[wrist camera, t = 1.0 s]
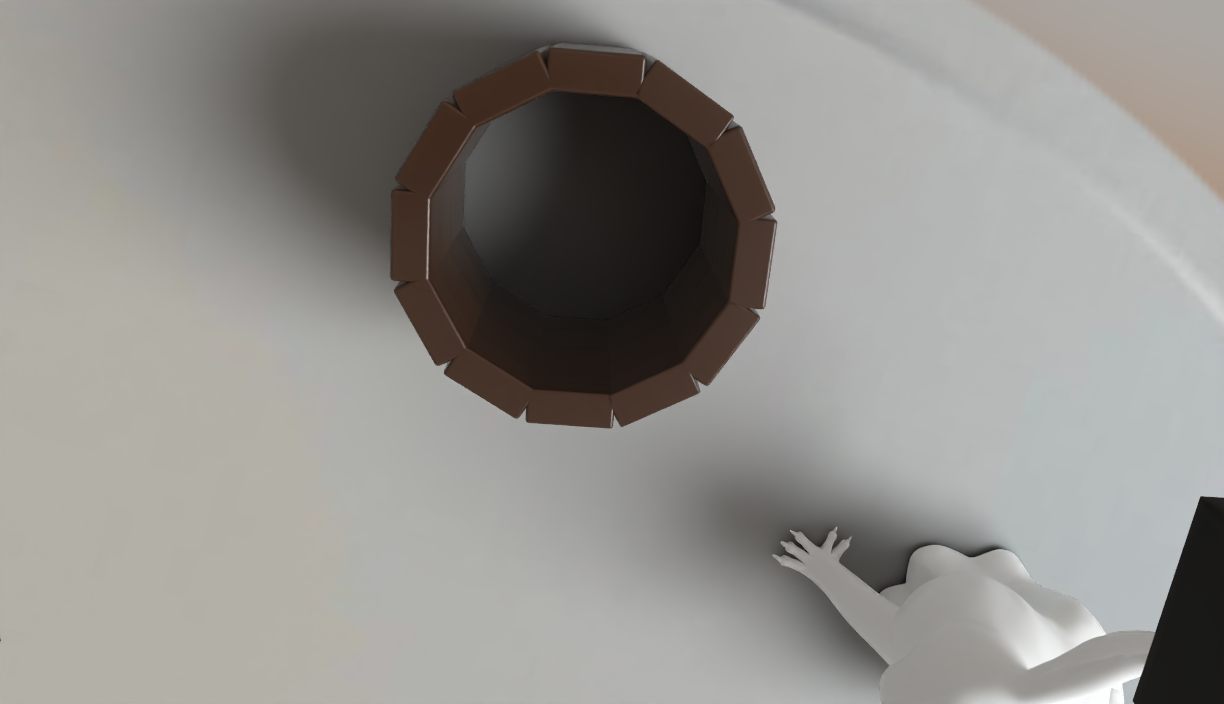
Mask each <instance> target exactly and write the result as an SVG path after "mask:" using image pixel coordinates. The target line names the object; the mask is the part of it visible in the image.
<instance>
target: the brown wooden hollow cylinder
mask: <svg viewBox="0 0 1224 704" xmlns="http://www.w3.org/2000/svg"><path fill="white" fill-rule="evenodd" d="M551 91H556V92H568V93H579V94H591V95H602V96H614V97H625V98H637V99H638V100H639V101H641V102H642V103H644V104H645V105H646V106H648V107H649V108H651V109H652V110H653V111H655V112H656V113H657V114H659V115H660V116H662V117H663V118H664V119H666V120H667V121H669V122H670V123H671V124H673V125H674V126H675V127H677V128H678V129H680V130H681V131H682V132H684V133H685V134H687V137H688V139H689V141H690V144H691V146H692V148H693V150H694V153H695V155H696V157H697V160H698V162H699V164H700V167H701V169H702V171H703V174H704V176H705V178H706V180H707V187H706V195H705V204H704V212H703V221H702V229H701V238H700V245H699V247H698V248H697V249H696V251H695V252H694V253H693V255H692V256H691V257H690V259H689V260H688V261H687V263H686V264H685V266H684V267H683V268H682V270H681V271H680V272H679V274H678V275H677V276H676V278H675V279H674V280H673V282H672V283H671V285H670V286H669V287H668V289H667V290H666V291H665V293H664V294H663V295H661V296H659V297H657V298H655V299H653V300H650V301H648V302H646V303H644V304H642V305H639V306H637V307H635V308H633V309H631V310H628V311H626V312H624V313H622V314H620V315H617V316H615V317H613V318H611V319H609V320H606V321H605V320H592V319H579V318H565V317H552V316H544V315H543V314H541V313H540V312H538V311H537V310H535V309H533V308H532V307H530V306H529V305H527V304H526V303H524V302H523V301H521V300H520V299H518V298H517V297H515V296H513V295H512V294H510V293H509V292H507V291H506V290H504V289H503V288H501V287H500V286H498V285H497V284H495V283H493V282H492V280H491V278H490V276H489V274H488V272H487V270H486V268H485V266H484V265H483V263H482V261H481V259H480V257H479V255H478V253H477V251H476V249H475V248H474V246H473V244H472V242H471V240H470V238H469V236H468V234H467V232H466V231H465V229H464V227H463V218H464V189H465V162H466V160H467V159H468V157H469V156H470V154H471V152H472V151H473V149H474V148H475V146H476V145H477V143H478V141H479V140H480V138H481V137H482V135H483V134H484V132H485V131H486V129H487V127H488V126H489V124H490V123H491V121H492V120H494V119H496V118H498V117H500V116H502V115H504V114H506V113H508V112H510V111H512V110H514V109H516V108H518V107H520V106H523V105H525V104H527V103H529V102H531V101H533V100H535V99H537V98H539V97H541V96H543V95H545V94H547V93H549V92H551ZM733 119H734V116H733V115H732V114H731V113H729V112H728V111H727V110H725V109H724V108H723V107H721V106H720V105H719V104H717V103H716V102H714V101H713V100H712V99H710V98H709V97H708V96H706V95H705V94H704V93H702V92H701V91H700V90H698V89H697V88H695V87H694V86H693V85H691V84H690V83H689V82H687V81H686V80H685V79H683V78H682V77H681V76H679V75H678V74H676V73H675V72H674V71H672V70H671V69H670V68H668V67H667V66H666V65H664V64H663V63H662V62H660V61H659V60H657V59H655V58H653V57H651V56H649V55H647V54H645V53H643V52H642V53H639V52H637V51H635V50H634V49H631V48H620V47H609V46H598V45H586V44H575V43H564V42H560V43H558V44H556V45H554V46H551V45H546V46H543V47H541V48H538V49H536V50H534V51H532V52H530V53H528V54H526V55H524V56H522V57H520V58H518V59H516V60H514V61H512V62H510V63H508V64H506V65H504V66H502V67H500V68H498V69H496V70H494V71H492V72H490V73H488V74H486V75H484V76H482V77H480V78H478V79H476V80H474V81H472V82H470V83H468V84H466V85H464V86H462V87H460V88H458V89H456V90H454V91H453V92H452V96H451V97H449V98H447V99H445V100H443V101H442V102H441V103H440V105H439V106H438V108H437V110H436V111H435V113H434V115H433V116H432V118H431V119H430V121H429V123H428V124H427V126H426V127H425V129H424V131H423V132H422V134H421V136H420V137H419V139H418V140H417V142H416V144H415V145H414V147H413V148H412V150H411V152H410V153H409V155H408V157H407V158H406V160H405V161H404V163H403V165H402V166H401V168H400V169H399V171H398V173H397V174H396V176H395V181H396V182H397V183H399V184H398V185H397V186H396V187H395V188H393V189H392V191H391V225H390V277H391V280H393V281H400V282H399V283H398V285H397V286H396V287H395V289H394V293H395V295H396V296H397V298H398V300H399V302H400V303H401V305H402V307H403V309H404V311H405V312H406V314H407V316H408V318H409V319H410V321H411V323H412V325H413V326H414V328H415V330H416V332H417V333H418V335H419V337H420V339H421V340H422V342H423V344H424V346H425V347H426V349H427V351H428V353H429V355H430V356H431V358H432V360H433V362H434V363H435V364H436V365H437V366H439V365H442V364H444V363H447V362H448V363H447V365H446V368H445V370H444V374H445V375H446V376H448V377H449V378H451V379H452V380H454V381H456V382H457V383H459V384H461V385H462V386H464V387H465V388H467V389H469V390H470V391H472V392H473V393H475V394H477V395H478V396H480V397H482V398H483V399H485V400H486V401H488V402H490V403H491V404H493V405H494V406H496V407H498V408H499V409H501V410H503V411H504V412H506V413H507V414H509V415H511V416H512V417H514V418H516V419H517V418H519V417H520V416H521V414H522V413H523V412H524V410H525V409H526V422H528V423H540V424H554V425H569V426H583V427H597V428H612V426H613V420H614V415H615V417H616V419H617V421H618V423H619V425H620V426H621V427H623V426H626V425H628V424H630V423H632V422H635V421H637V420H639V419H641V418H644V417H646V416H648V415H651V414H653V413H655V412H657V411H660V410H662V409H664V408H667V407H669V406H671V405H673V404H676V403H678V402H680V401H683V400H685V399H687V398H689V397H692V396H694V395H696V394H698V393H700V389H699V385H698V382H697V380H698V381H699V382H701V383H702V384H704V385H706V386H708V385H709V384H710V383H711V382H712V380H713V379H714V378H715V377H716V375H717V374H718V373H719V371H720V370H721V369H722V367H723V366H724V365H725V364H726V362H727V361H728V360H729V358H730V357H731V356H732V355H733V353H734V352H735V351H736V349H737V348H738V347H739V346H740V344H741V343H742V342H743V340H744V339H745V338H746V337H747V335H748V334H749V333H750V331H751V330H752V329H753V328H754V326H755V325H756V324H757V322H758V321H759V320H760V316H759V315H758V313H757V311H756V309H764V307H765V305H766V298H767V291H768V284H769V277H770V270H771V263H772V256H773V249H774V242H775V235H776V228H777V221H776V220H775V219H774V217H773V216H772V215H771V213H773V212H774V211H775V206H774V203H773V201H772V199H771V196H770V194H769V191H768V189H767V187H766V184H765V182H764V179H763V177H762V174H761V172H760V170H759V167H758V165H757V162H756V160H755V158H754V155H753V153H752V150H751V148H750V145H749V143H748V141H747V138H746V136H745V133H744V131H743V129H742V127H741V126H740V125H738V124H737V123H735V122H734V121H732V120H733Z"/></svg>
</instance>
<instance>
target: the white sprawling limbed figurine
mask: <svg viewBox="0 0 1224 704" xmlns="http://www.w3.org/2000/svg"><path fill="white" fill-rule="evenodd" d="M836 530H837V527H836V528H835V529H834V530H833V531H830V532H829V534H828V537H827V539H826V541H825V542H824V544H823V545H822V546H821V547H817V546H816V545H814V544H813V543H812V542H811V541H810V540H808V539H807V538H806V537H805V536H804V534H803V533H802V532H794V531H792V530H790V532H791V533H792V534H793V535H794V536H795V539H796V541H797V542H799V543H800V544H801V545H802V546H803V547H804V549H805V550H806V551H807V552H808V553H807V552H805V551H804V550H803V549H801V548H799V547H797V546H796V545H795V544H794V543H793V542H788V543H786V542H783V541H781V544H782V545H783V546H784V547H785V549H786V551H787V552H789V553H791V554H793V555H794V556H796V557H797V558H798V559H799V560H801V561H802V562H801V561H799V560H797V559H793V558H790V557H788V556H786V555H782V556H781V557H780V556H777V555H775V554H772V556H773V557H774V558H775V559H776V560H778V561H779V563H780V565H782V566H786V567H790V568H792V569H794V570H797V571H799V572H801V573H802V574H804V575H805V576H807V577H808V578H809V579H811V580H812V581H813V582H814V583H815V584H816V585H817V586H818V587H819V588H820V589H821V590H822V591H823V592H824V593H825V594H826V595H827V596H828V598H829V599H830V600H831V601H832V603H833V604H834V605H835V607H836V608H837V610H838V611H839V612H840V613H841V615H842V616H843V617H844V618H845V620H846V621H847V622H848V623H849V624H850V625H851V626H852V627H853V628H854V629H855V631H856V632H857V633H858V634H859V635H860V636H861V637H862V638H863V639H864V640H865V641H866V642H867V643H868V644H869V645H870V646H871V647H872V648H873V649H874V650H875V651H876V652H877V653H878V654H879V655H880V656H881V657H882V658H883V659H884V660H885V661H886V662H887V663H888V664H889V665H890V666H888V668H887V669H886V670H885V671H884V673H883V675H882V676H881V679H880V684H879V690H880V697H881V702H882V704H1124V698H1123V696H1124V694H1123V688H1122V683H1125V682H1127V681H1129V680H1132V679H1134V678H1137V677H1140V676H1141V674H1142V671H1143V668H1144V665H1145V662H1146V659H1147V656H1148V653H1149V650H1150V647H1151V644H1152V641H1153V638H1154V635H1155V632H1151V631H1139V630H1138V631H1119V632H1114V633H1109V634H1106V633H1105V632H1104V630H1103V628H1102V627H1101V625H1100V624H1099V623H1098V621H1097V620H1096V619H1095V618H1094V616H1093V615H1092V614H1091V613H1090V612H1089V611H1088V610H1087V609H1086V608H1085V607H1084V606H1083V605H1082V604H1081V603H1080V602H1079V601H1077V600H1076V599H1075V598H1073V597H1071V596H1069V595H1066V594H1063V593H1060V592H1058V591H1055V590H1052V589H1049V588H1046V587H1043V586H1042V585H1040V584H1038V583H1037V582H1036V581H1034V580H1033V579H1032V578H1031V576H1030V575H1029V574H1028V572H1027V571H1026V569H1025V568H1024V566H1023V564H1022V563H1021V561H1020V560H1019V559H1018V557H1017V556H1016V555H1015V554H1014V553H1012V552H1010V551H1008V550H1003V549H997V550H993V551H990V552H987V553H985V554H982V555H980V556H977V557H967V556H965V555H963V554H961V553H959V552H957V551H955V550H953V549H950V548H948V547H945V546H941V545H930V546H925V547H922V548H919V549H917V550H916V551H915V552H914V553H913V554H912V556H911V557H910V561H909V565H908V569H907V576H906V583H905V584H901V585H895V586H892V587H889V588H886V589H884V590H883V591H882V592H880V593H877V592H876V591H875V590H873V589H872V588H871V587H870V586H868V585H867V584H866V583H865V582H863V581H862V580H861V579H860V578H858V577H857V576H856V575H854V574H853V573H852V572H851V571H849V570H848V569H847V568H845V567H844V566H843V565H842V564H840V563H839V559H840V557H841V556H842V554H843V552H844V551H845V550H846V549H847V548H848V547H849V542H850V540H851V539H852V536H851V537H850V538H848V539H847V540H845V539H844V540H842V541H841V542H840V543H839V544H838V545H837V546H836V547H835V548H833V549H832V546H833V543H834V541H835V540H836V538H837V535H836Z"/></svg>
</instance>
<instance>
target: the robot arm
mask: <svg viewBox="0 0 1224 704" xmlns="http://www.w3.org/2000/svg"><path fill="white" fill-rule="evenodd" d="M0 641H1V640H0ZM1133 702H1134V703H1135V704H1224V498H1217V497H1202V496H1201V497H1200V500H1199V503H1198V506H1197V509H1196V512H1195V515H1194V518H1193V521H1192V524H1191V527H1190V530H1189V533H1188V536H1187V539H1186V542H1185V545H1184V548H1183V551H1182V554H1181V557H1180V560H1179V563H1178V566H1177V569H1176V572H1175V575H1174V578H1173V581H1172V584H1171V587H1170V590H1169V593H1168V596H1167V599H1166V602H1165V605H1164V608H1163V611H1162V614H1161V617H1160V620H1159V623H1158V626H1157V629H1156V632H1155V635H1154V638H1153V641H1152V644H1151V647H1150V650H1149V653H1148V656H1147V659H1146V662H1145V665H1144V668H1143V671H1142V674H1141V677H1140V680H1139V683H1138V686H1137V689H1136V692H1135V695H1134V698H1133Z"/></svg>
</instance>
